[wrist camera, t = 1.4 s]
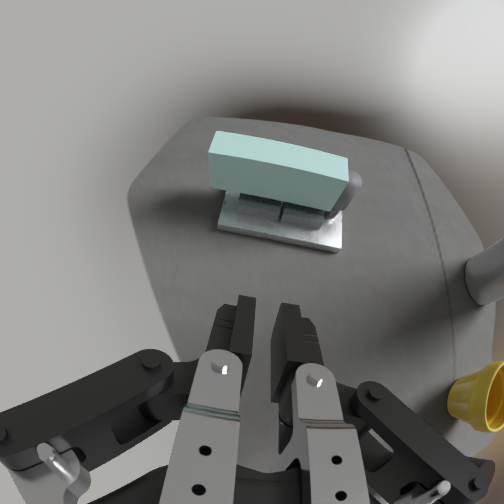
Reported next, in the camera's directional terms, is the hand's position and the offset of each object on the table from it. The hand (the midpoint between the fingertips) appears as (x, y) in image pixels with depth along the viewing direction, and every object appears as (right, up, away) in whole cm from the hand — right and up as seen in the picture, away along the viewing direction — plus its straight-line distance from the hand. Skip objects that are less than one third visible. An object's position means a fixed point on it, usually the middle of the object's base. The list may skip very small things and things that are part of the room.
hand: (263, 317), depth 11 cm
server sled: (+4, +9, +26) cm, 27 cm away
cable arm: (+3, +11, +22) cm, 24 cm away
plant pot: (+32, -20, +17) cm, 41 cm away
